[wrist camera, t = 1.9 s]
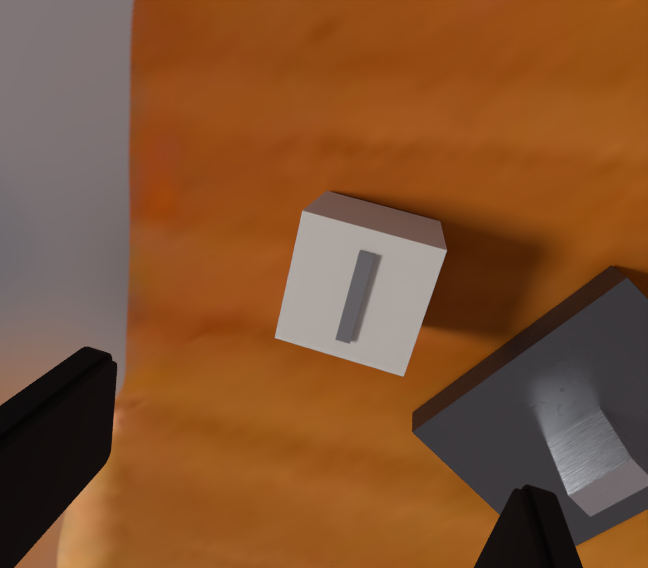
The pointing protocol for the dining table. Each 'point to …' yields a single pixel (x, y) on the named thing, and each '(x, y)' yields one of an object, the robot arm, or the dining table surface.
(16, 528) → the robot arm
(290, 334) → the knob
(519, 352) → the plate
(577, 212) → the dining table surface
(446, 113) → the dining table surface
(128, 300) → the dining table surface
